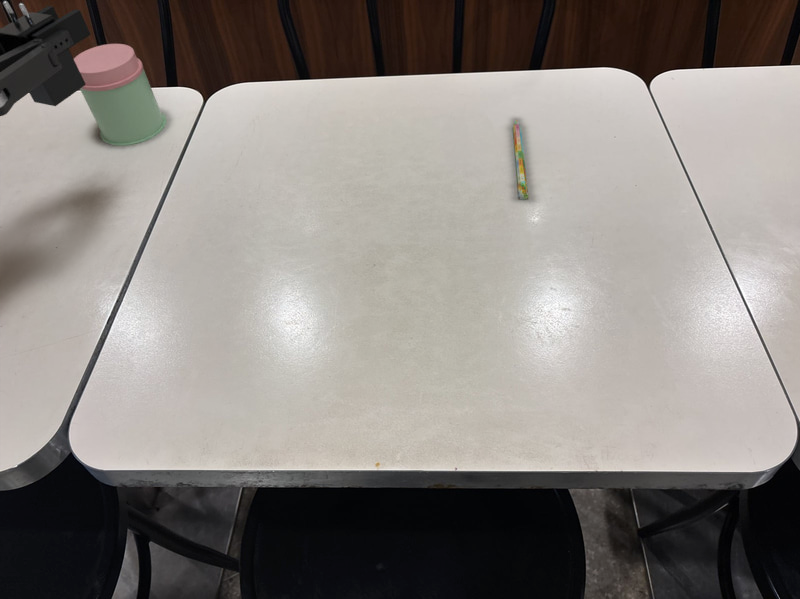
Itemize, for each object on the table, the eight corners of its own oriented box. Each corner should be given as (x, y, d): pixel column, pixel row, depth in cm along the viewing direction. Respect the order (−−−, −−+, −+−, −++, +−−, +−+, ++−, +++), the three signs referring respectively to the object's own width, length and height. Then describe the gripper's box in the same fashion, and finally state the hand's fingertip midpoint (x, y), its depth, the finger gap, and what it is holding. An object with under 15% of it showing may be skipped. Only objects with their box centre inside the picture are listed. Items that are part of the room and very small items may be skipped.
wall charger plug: (34, 102, 67) (-19, 10, 59) (65, 80, 70) (19, -10, 62) (55, 106, 66) (4, 14, 58) (86, 84, 69) (42, -7, 61)
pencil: (511, 122, 87) (517, 200, 75) (511, 115, 86) (518, 193, 74) (520, 122, 86) (528, 200, 75) (520, 115, 86) (529, 193, 74)
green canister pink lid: (89, 145, 89) (51, 73, 81) (122, 110, 96) (90, 40, 87) (148, 150, 88) (116, 77, 79) (178, 113, 94) (151, 42, 85)
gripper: (-145, 152, 58) (33, 44, 72) (-26, 183, 53) (139, 61, 67) (-208, 80, 52) (-2, -22, 66) (-81, 108, 48) (112, -8, 62)
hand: (69, 20), depth 67 cm, fingers closed on wall charger plug, 3 cm apart
